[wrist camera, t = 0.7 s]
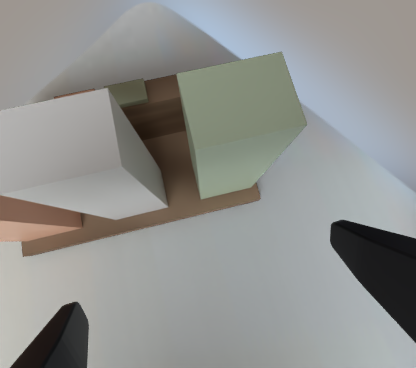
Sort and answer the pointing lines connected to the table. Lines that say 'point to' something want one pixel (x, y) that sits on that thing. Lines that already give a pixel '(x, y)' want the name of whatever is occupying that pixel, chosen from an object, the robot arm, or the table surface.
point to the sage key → (238, 120)
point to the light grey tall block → (78, 157)
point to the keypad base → (165, 159)
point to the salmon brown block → (34, 220)
